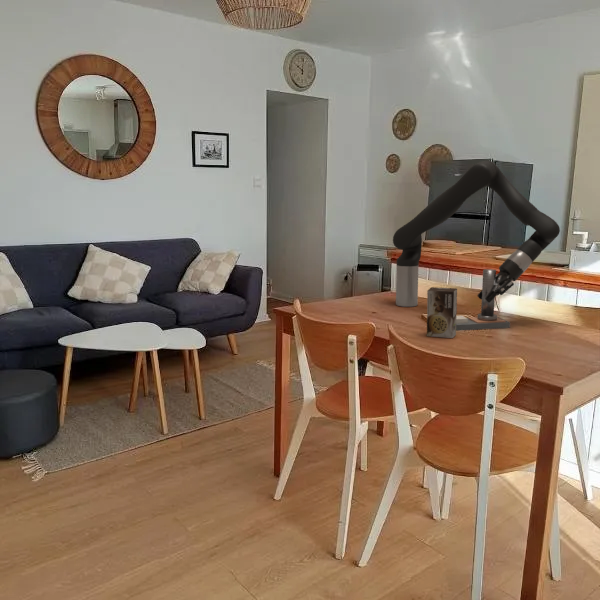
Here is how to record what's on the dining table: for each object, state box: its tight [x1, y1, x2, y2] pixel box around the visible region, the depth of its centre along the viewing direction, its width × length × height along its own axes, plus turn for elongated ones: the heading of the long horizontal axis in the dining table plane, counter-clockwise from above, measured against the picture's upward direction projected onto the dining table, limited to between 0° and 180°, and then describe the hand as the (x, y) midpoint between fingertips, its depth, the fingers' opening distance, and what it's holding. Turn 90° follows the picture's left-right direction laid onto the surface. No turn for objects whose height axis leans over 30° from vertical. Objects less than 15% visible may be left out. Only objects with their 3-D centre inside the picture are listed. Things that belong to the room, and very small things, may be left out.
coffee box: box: [426, 286, 458, 339], centre depth 197 cm, size 9×6×16 cm
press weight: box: [476, 268, 498, 321], centre depth 209 cm, size 7×7×18 cm
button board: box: [456, 316, 511, 332], centre depth 211 cm, size 10×22×2 cm, turn 99°
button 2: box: [467, 316, 507, 324], centre depth 211 cm, size 8×11×2 cm
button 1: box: [456, 315, 468, 324], centre depth 209 cm, size 5×5×2 cm
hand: (483, 299), depth 209 cm, fingers open, 5 cm apart
